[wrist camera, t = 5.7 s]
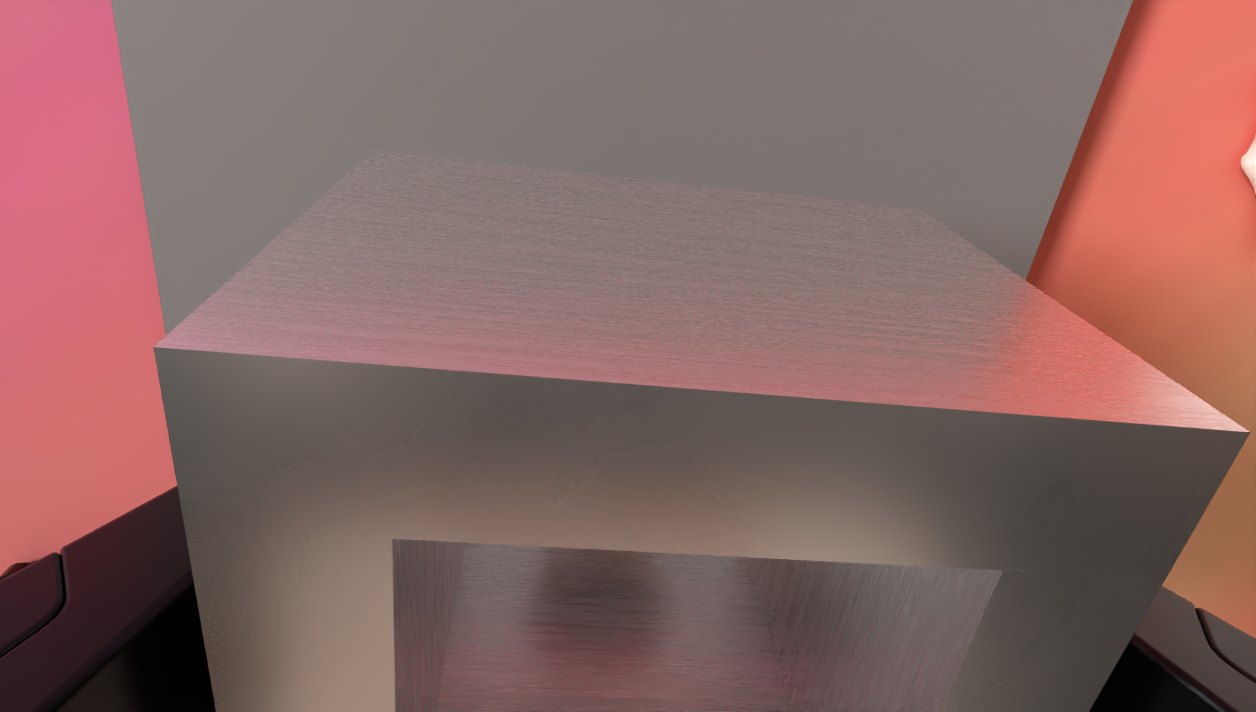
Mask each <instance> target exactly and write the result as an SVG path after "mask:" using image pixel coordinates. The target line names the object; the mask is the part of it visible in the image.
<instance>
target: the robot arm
mask: <svg viewBox="0 0 1256 712" xmlns="http://www.w3.org/2000/svg"><path fill="white" fill-rule="evenodd" d="M0 712H216V708H215V702H214V696H213V690H212V684H211V679H210V673H209V667H208V661H207V655H206V650H205V644H204V638H203V632H202V626H201V620H200V615H199V609H198V603H197V597H196V591H195V585H194V580H193V574H192V568H191V562H190V556H189V550H188V545H187V539H186V533H185V527H184V521H183V515H182V510H181V504H180V498H179V492H178V486H176V487H174V488H172V489H170V490H168V491H166V492H165V493H163V494H161V495H159V496H157V497H155V498H153V499H152V500H150V501H148V502H146V503H144V504H142V505H140V506H139V507H137V508H135V509H133V510H131V511H129V512H127V513H126V514H124V515H122V516H120V517H118V518H116V519H114V520H113V521H111V522H109V523H107V524H105V525H103V526H101V527H100V528H98V529H96V530H94V531H92V532H90V533H88V534H87V535H85V536H83V537H81V538H79V539H77V540H75V541H74V542H72V543H70V544H68V545H66V546H64V547H63V548H62V549H61V551H60V554H59V553H56V552H54V553H51V554H49V555H47V556H46V557H44V558H42V559H40V560H38V561H36V562H34V563H16V564H14V565H12V566H10V567H9V568H8V569H7V570H6V571H5V572H4V573H3V574H2V575H1V576H0ZM1089 712H1256V639H1255V638H1253V637H1252V636H1250V635H1248V634H1246V633H1244V632H1243V631H1241V630H1239V629H1237V628H1235V627H1234V626H1232V625H1230V624H1228V623H1227V622H1225V621H1223V620H1221V619H1220V618H1218V617H1216V616H1214V615H1213V614H1211V613H1209V612H1207V611H1206V610H1204V609H1202V608H1196V609H1195V608H1194V605H1193V604H1192V603H1191V602H1189V601H1188V600H1186V599H1184V598H1182V597H1181V596H1179V595H1177V594H1175V593H1174V592H1172V591H1170V590H1168V589H1167V588H1165V587H1163V586H1161V588H1160V589H1159V591H1158V593H1157V595H1156V596H1155V598H1154V600H1153V602H1152V603H1151V605H1150V607H1149V608H1148V610H1147V612H1146V614H1145V615H1144V617H1143V619H1142V621H1141V622H1140V624H1139V626H1138V627H1137V629H1136V631H1135V633H1134V634H1133V636H1132V638H1131V640H1130V641H1129V643H1128V645H1127V647H1126V648H1125V650H1124V652H1123V653H1122V655H1121V657H1120V659H1119V660H1118V662H1117V664H1116V666H1115V667H1114V669H1113V671H1112V673H1111V674H1110V676H1109V678H1108V679H1107V681H1106V683H1105V685H1104V686H1103V688H1102V690H1101V692H1100V693H1099V695H1098V697H1097V699H1096V700H1095V702H1094V704H1093V705H1092V707H1091V709H1090V711H1089Z"/></svg>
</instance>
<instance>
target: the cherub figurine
mask: <svg viewBox="0 0 1256 712" xmlns="http://www.w3.org/2000/svg"><path fill="white" fill-rule="evenodd" d="M1240 164H1241V168H1242V170H1243V171H1244V173H1245V174H1246V175H1247V177H1248V178H1249V180H1250V182H1251V185H1252V186H1253V189H1254V191H1255V194H1256V134H1255V138H1254V140H1253V142H1252V144H1251V146H1250V148H1249V150H1248V151H1247V153H1246V154H1244V155H1243V156H1242V158H1241V163H1240Z"/></svg>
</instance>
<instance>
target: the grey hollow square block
mask: <svg viewBox="0 0 1256 712" xmlns="http://www.w3.org/2000/svg"><path fill="white" fill-rule="evenodd" d="M154 352H155V358H156V364H157V370H158V376H159V381H160V387H161V393H162V399H163V405H164V410H165V416H166V422H167V428H168V434H169V440H170V445H171V451H172V457H173V463H174V469H175V475H176V480H177V486H178V492H179V498H180V504H181V510H182V515H183V521H184V527H185V533H186V539H187V545H188V550H189V556H190V562H191V568H192V574H193V580H194V585H195V591H196V597H197V603H198V609H199V615H200V620H201V626H202V632H203V638H204V644H205V650H206V655H207V661H208V667H209V673H210V679H211V684H212V690H213V696H214V702H215V708H216V712H1089V711H1090V709H1091V707H1092V705H1093V704H1094V702H1095V700H1096V699H1097V697H1098V695H1099V693H1100V692H1101V690H1102V688H1103V686H1104V685H1105V683H1106V681H1107V679H1108V678H1109V676H1110V674H1111V673H1112V671H1113V669H1114V667H1115V666H1116V664H1117V662H1118V660H1119V659H1120V657H1121V655H1122V653H1123V652H1124V650H1125V648H1126V647H1127V645H1128V643H1129V641H1130V640H1131V638H1132V636H1133V634H1134V633H1135V631H1136V629H1137V627H1138V626H1139V624H1140V622H1141V621H1142V619H1143V617H1144V615H1145V614H1146V612H1147V610H1148V608H1149V607H1150V605H1151V603H1152V602H1153V600H1154V598H1155V596H1156V595H1157V593H1158V591H1159V589H1160V588H1161V586H1162V584H1163V582H1164V581H1165V579H1166V577H1167V576H1168V574H1169V572H1170V570H1171V569H1172V567H1173V565H1174V563H1175V562H1176V560H1177V558H1178V556H1179V555H1180V553H1181V551H1182V550H1183V548H1184V546H1185V544H1186V543H1187V541H1188V539H1189V537H1190V536H1191V534H1192V532H1193V530H1194V529H1195V527H1196V525H1197V524H1198V522H1199V520H1200V518H1201V517H1202V515H1203V513H1204V511H1205V510H1206V508H1207V506H1208V505H1209V503H1210V501H1211V499H1212V498H1213V496H1214V494H1215V492H1216V491H1217V489H1218V487H1219V485H1220V484H1221V482H1222V480H1223V479H1224V477H1225V475H1226V473H1227V472H1228V470H1229V468H1230V466H1231V465H1232V463H1233V461H1234V459H1235V458H1236V456H1237V454H1238V453H1239V451H1240V449H1241V447H1242V446H1243V444H1244V442H1245V440H1246V439H1247V437H1248V435H1249V434H1250V432H1249V431H1248V430H1246V429H1245V428H1243V427H1242V426H1240V425H1239V424H1237V423H1236V422H1234V421H1233V420H1231V419H1230V418H1228V417H1227V416H1225V415H1224V414H1222V413H1221V412H1219V411H1218V410H1217V409H1215V408H1214V407H1212V406H1211V405H1209V404H1208V403H1206V402H1205V401H1203V400H1202V399H1200V398H1199V397H1197V396H1196V395H1194V394H1193V393H1191V392H1190V391H1188V390H1187V389H1185V388H1184V387H1183V386H1181V385H1180V384H1178V383H1177V382H1175V381H1174V380H1172V379H1171V378H1169V377H1168V376H1166V375H1165V374H1163V373H1162V372H1160V371H1159V370H1157V369H1156V368H1154V367H1153V366H1151V365H1150V364H1149V363H1147V362H1146V361H1144V360H1143V359H1141V358H1140V357H1138V356H1137V355H1135V354H1134V353H1132V352H1131V351H1129V350H1128V349H1126V348H1125V347H1123V346H1122V345H1120V344H1119V343H1118V342H1116V341H1115V340H1113V339H1112V338H1110V337H1109V336H1107V335H1106V334H1104V333H1103V332H1101V331H1100V330H1098V329H1097V328H1095V327H1094V326H1092V325H1091V324H1089V323H1088V322H1086V321H1085V320H1084V319H1082V318H1081V317H1079V316H1078V315H1076V314H1075V313H1073V312H1072V311H1070V310H1069V309H1067V308H1066V307H1064V306H1063V305H1061V304H1060V303H1058V302H1057V301H1055V300H1054V299H1052V298H1051V297H1050V296H1048V295H1047V294H1045V293H1044V292H1042V291H1041V290H1039V289H1038V288H1036V287H1035V286H1033V285H1032V284H1030V283H1029V282H1027V281H1026V280H1024V279H1023V278H1021V277H1020V276H1019V275H1017V274H1016V273H1014V272H1013V271H1011V270H1010V269H1008V268H1007V267H1005V266H1004V265H1002V264H1001V263H999V262H998V261H996V260H995V259H993V258H992V257H990V256H989V255H987V254H986V253H985V252H983V251H982V250H980V249H979V248H977V247H976V246H974V245H973V244H971V243H970V242H968V241H967V240H965V239H964V238H962V237H961V236H959V235H958V234H956V233H955V232H953V231H952V230H951V229H949V228H948V227H946V226H945V225H943V224H942V223H940V222H939V221H937V220H936V219H934V218H933V217H931V216H930V215H928V214H927V213H925V212H924V211H922V210H921V209H918V208H909V207H900V206H891V205H882V204H873V203H864V202H854V201H845V200H836V199H827V198H818V197H809V196H800V195H791V194H781V193H772V192H763V191H754V190H745V189H736V188H727V187H717V186H708V185H699V184H690V183H681V182H672V181H663V180H653V179H644V178H635V177H626V176H617V175H608V174H599V173H590V172H580V171H571V170H562V169H553V168H544V167H535V166H526V165H516V164H507V163H498V162H489V161H480V160H471V159H462V158H452V157H443V156H434V155H425V154H416V153H407V152H398V151H389V150H379V149H375V150H374V151H373V152H372V153H370V154H369V155H368V156H367V157H366V158H365V159H364V160H363V161H362V162H360V163H359V164H358V165H357V166H356V167H355V168H354V169H353V170H351V171H350V172H349V173H348V174H347V175H346V176H345V177H344V178H342V179H341V180H340V181H339V182H338V183H337V184H336V185H335V186H334V187H332V188H331V189H330V190H329V191H328V192H327V193H326V194H325V195H323V196H322V197H321V198H320V199H319V200H318V201H317V202H316V203H314V204H313V205H312V206H311V207H310V208H309V209H308V210H307V211H305V212H304V213H303V214H302V215H301V216H300V217H299V218H298V219H297V220H295V221H294V222H293V223H292V224H291V225H290V226H289V227H288V228H286V229H285V230H284V231H283V232H282V233H281V234H280V235H279V236H277V237H276V238H275V239H274V240H273V241H272V242H271V243H270V244H268V245H267V246H266V247H265V248H264V249H263V250H262V251H261V252H260V253H258V254H257V255H256V256H255V257H254V258H253V259H252V260H251V261H249V262H248V263H247V264H246V265H245V266H244V267H243V268H242V269H240V270H239V271H238V272H237V273H236V274H235V275H234V276H233V277H232V278H230V279H229V280H228V281H227V282H226V283H225V284H224V285H223V286H221V287H220V288H219V289H218V290H217V291H216V292H215V293H214V294H212V295H211V296H210V297H209V298H208V299H207V300H206V301H205V302H203V303H202V304H201V305H200V306H199V307H198V308H197V309H196V310H195V311H193V312H192V313H191V314H190V315H189V316H188V317H187V318H186V319H184V320H183V321H182V322H181V323H180V324H179V325H178V326H177V327H175V328H174V329H173V330H172V331H171V332H170V333H169V334H168V335H166V336H165V337H164V338H163V339H162V340H161V341H160V342H159V343H158V344H156V345H155V346H154Z"/></svg>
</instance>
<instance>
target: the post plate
mask: <svg viewBox="0 0 1256 712" xmlns="http://www.w3.org/2000/svg"><path fill="white" fill-rule="evenodd" d="M111 2H112V8H113V14H114V20H115V26H116V32H117V39H118V45H119V51H120V57H121V63H122V69H123V75H124V81H125V87H126V94H127V100H128V106H129V112H130V118H131V124H132V130H133V136H134V143H135V149H136V155H137V161H138V167H139V173H140V179H141V185H142V192H143V198H144V204H145V210H146V216H147V222H148V228H149V234H150V240H151V247H152V253H153V259H154V265H155V271H156V277H157V283H158V289H159V296H160V302H161V308H162V314H163V320H164V326H165V332H166V335H168V334H169V333H170V332H171V331H172V330H173V329H174V328H175V327H177V326H178V325H179V324H180V323H181V322H182V321H183V320H184V319H186V318H187V317H188V316H189V315H190V314H191V313H192V312H193V311H195V310H196V309H197V308H198V307H199V306H200V305H201V304H202V303H203V302H205V301H206V300H207V299H208V298H209V297H210V296H211V295H212V294H214V293H215V292H216V291H217V290H218V289H219V288H220V287H221V286H223V285H224V284H225V283H226V282H227V281H228V280H229V279H230V278H232V277H233V276H234V275H235V274H236V273H237V272H238V271H239V270H240V269H242V268H243V267H244V266H245V265H246V264H247V263H248V262H249V261H251V260H252V259H253V258H254V257H255V256H256V255H257V254H258V253H260V252H261V251H262V250H263V249H264V248H265V247H266V246H267V245H268V244H270V243H271V242H272V241H273V240H274V239H275V238H276V237H277V236H279V235H280V234H281V233H282V232H283V231H284V230H285V229H286V228H288V227H289V226H290V225H291V224H292V223H293V222H294V221H295V220H297V219H298V218H299V217H300V216H301V215H302V214H303V213H304V212H305V211H307V210H308V209H309V208H310V207H311V206H312V205H313V204H314V203H316V202H317V201H318V200H319V199H320V198H321V197H322V196H323V195H325V194H326V193H327V192H328V191H329V190H330V189H331V188H332V187H334V186H335V185H336V184H337V183H338V182H339V181H340V180H341V179H342V178H344V177H345V176H346V175H347V174H348V173H349V172H350V171H351V170H353V169H354V168H355V167H356V166H357V165H358V164H359V163H360V162H362V161H363V160H364V159H365V158H366V157H367V156H368V155H369V154H370V153H372V152H373V151H374V150H375V149H379V150H389V151H398V152H407V153H416V154H425V155H434V156H443V157H452V158H462V159H471V160H480V161H489V162H498V163H507V164H516V165H526V166H535V167H544V168H553V169H562V170H571V171H580V172H590V173H599V174H608V175H617V176H626V177H635V178H644V179H653V180H663V181H672V182H681V183H690V184H699V185H708V186H717V187H727V188H736V189H745V190H754V191H763V192H772V193H781V194H791V195H800V196H809V197H818V198H827V199H836V200H845V201H854V202H864V203H873V204H882V205H891V206H900V207H909V208H918V209H921V210H922V211H924V212H925V213H927V214H928V215H930V216H931V217H933V218H934V219H936V220H937V221H939V222H940V223H942V224H943V225H945V226H946V227H948V228H949V229H951V230H952V231H953V232H955V233H956V234H958V235H959V236H961V237H962V238H964V239H965V240H967V241H968V242H970V243H971V244H973V245H974V246H976V247H977V248H979V249H980V250H982V251H983V252H985V253H986V254H987V255H989V256H990V257H992V258H993V259H995V260H996V261H998V262H999V263H1001V264H1002V265H1004V266H1005V267H1007V268H1008V269H1010V270H1011V271H1013V272H1014V273H1016V274H1017V275H1019V276H1020V277H1021V278H1023V279H1024V280H1026V278H1027V276H1028V273H1029V270H1030V268H1031V265H1032V263H1033V260H1034V257H1035V255H1036V252H1037V250H1038V247H1039V244H1040V242H1041V239H1042V237H1043V234H1044V231H1045V229H1046V226H1047V224H1048V221H1049V218H1050V216H1051V213H1052V210H1053V208H1054V205H1055V203H1056V200H1057V197H1058V195H1059V192H1060V190H1061V187H1062V184H1063V182H1064V179H1065V177H1066V174H1067V171H1068V169H1069V166H1070V164H1071V161H1072V158H1073V156H1074V153H1075V151H1076V148H1077V145H1078V143H1079V140H1080V137H1081V135H1082V132H1083V130H1084V127H1085V124H1086V122H1087V119H1088V117H1089V114H1090V111H1091V109H1092V106H1093V104H1094V101H1095V98H1096V96H1097V93H1098V91H1099V88H1100V85H1101V83H1102V80H1103V77H1104V75H1105V72H1106V70H1107V67H1108V64H1109V62H1110V59H1111V57H1112V54H1113V51H1114V49H1115V46H1116V44H1117V41H1118V38H1119V36H1120V33H1121V31H1122V28H1123V25H1124V23H1125V20H1126V18H1127V15H1128V12H1129V10H1130V7H1131V4H1132V2H1133V0H111Z"/></svg>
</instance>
